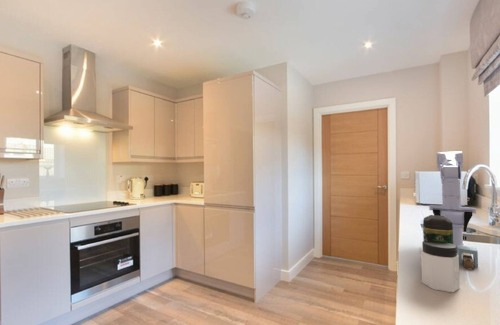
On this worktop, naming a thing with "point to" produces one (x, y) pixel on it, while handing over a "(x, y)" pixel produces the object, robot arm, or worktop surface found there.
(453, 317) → the worktop surface
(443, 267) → the jar
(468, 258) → the brown board
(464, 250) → the light blue open box
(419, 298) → the worktop surface
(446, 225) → the coffee jar
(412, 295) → the worktop surface
